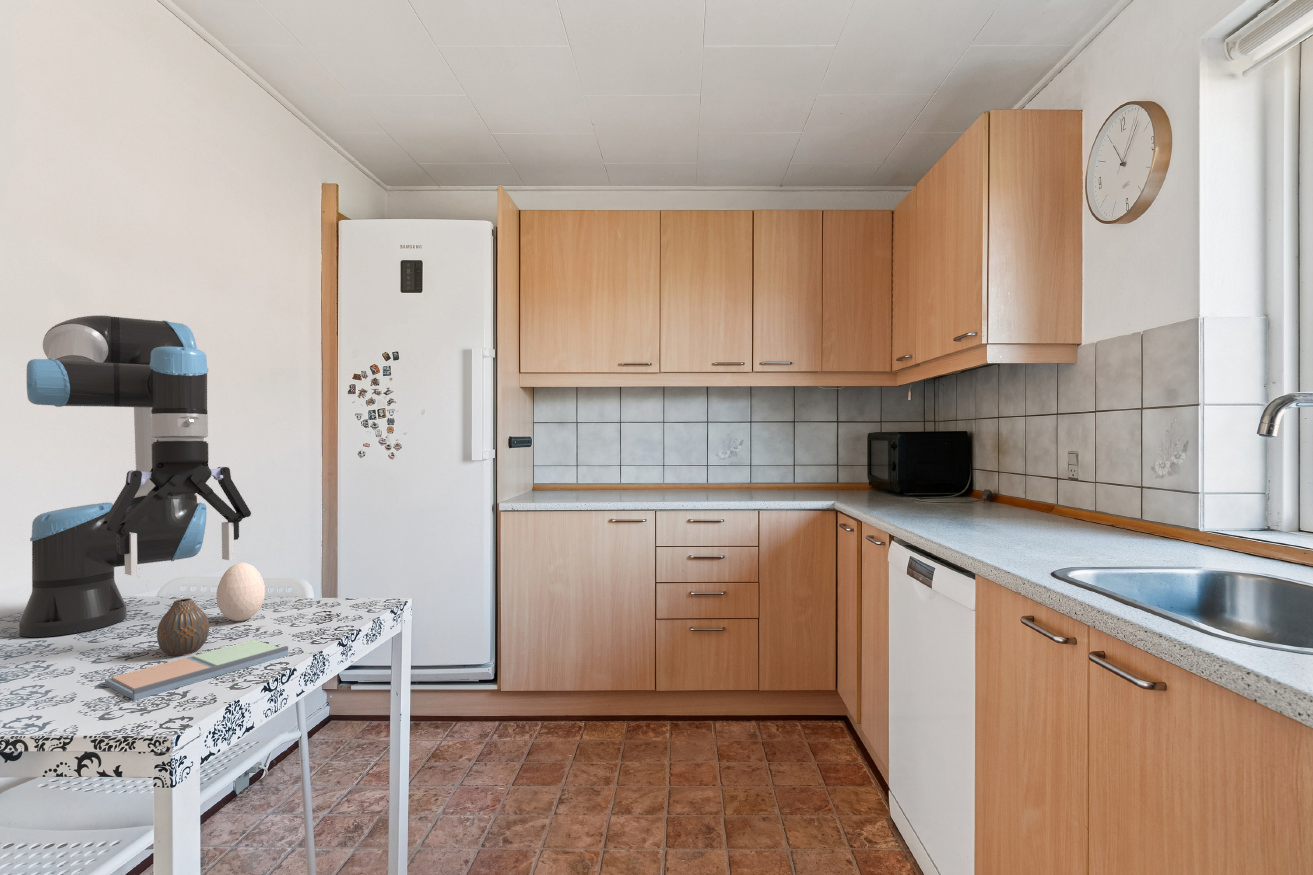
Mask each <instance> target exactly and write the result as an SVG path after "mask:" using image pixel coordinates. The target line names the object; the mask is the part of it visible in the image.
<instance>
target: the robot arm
mask: <svg viewBox="0 0 1313 875" xmlns="http://www.w3.org/2000/svg"><path fill="white" fill-rule="evenodd" d="M42 350H43V353H44V355H45V356H46V358H34V359H30V360H29V361H28V362H27V364H26V394H27V400H28V401H29V402H30V403H31V404H33V405H36V406H38V405H39V406H53V407H56V408H59V407H60V408H62V407H101V408H102V407H108V408H109V407H111V408H112V407H114V408H115V407H117V408H133V417H134V420H133V421H134V422H133V423H134V454H135V470H133V469H132V470H129V471H127V472H126V476H125V479H126V480H125V484H124V486H123V488H122V490H121V491H120V492H119V494H118V496H117V498H116V500H114V503H113V502H101V503H99V502H98V503H91V504H84V505H83V504H82V505H78V506H72V507H66V508H61V509H55V510H51V511H46V512H42V513H40V514H38V515H37V516H35V518H34V519H33V520H32V522H31V523H32V524H31V537H30V539H29V541H30V542H31V588H32V589H31V590H32V591H31V594H30V596H29V599H28V601H27V604H26V606H25V608H24V611H23V613H22V615H21V618H20V620H19V624H18V626H19V627H18V630H19V632H18V634H19V636H20V637H24V638H25V637H26V638H42V637H55V636H63V635H70V634H76V633H82V632H87V631H92V630H97V629H101V628H106V627H109V626H112V625H115V624H118V623H120V622H122V621H124V620H126V618H127V606H126V603H125V602H124V599H123V597H122V595H121V593H120V590H119V588H118V585H117V584H116V582H115V568H117V567H124V574H125V575H127V576H132V577H133V576H138V565H141V564H143V565H144V564H150V563H159V562H168V561H170V562H174V561H177V560H184V559H189V558H194V557H196V556H197V555H198V554H199V553H200V552H201V549H202V547H203V543H204V538H205V532H206V524H207V505H206V503H202V502H198V496H200V497H201V498H202V499H203V500H205V502H207V503H208V504H209V505H210V506H211V507H212V508H213V509H214V510H215V511H216V512H218V513H219V515H221V516H222V517H223V518H224V519H225V520H226V521H223V522H221V560H225V561H234V560H235V543H234V542H235V541H236V540H239V538H240V523H241V522H242V521H243V519H245V518H249V517H251V516H252V512H251V509H250V508H249V507H248V505H247V504H246V501H245V500H244V498H243V497H242V495H241V493H240V491H239V490H238V488H237V486H236V485H235V483H234V481H233V480H232V476H231V469H230V467H228V466H218V467H216V468H210V466H209V459H210V458H209V442H208V441H206V440H205V439H206V438H207V437H209V426H208V424H209V422H208V421H209V416H208V372H209V368H208V362H207V355H206V353H205V352H204V351H202V350H201V349H198V347H197V342H196V338H195V336H194V333H193V331H192V329H191V328H190V327H189V326H188V325H186V324H184V323H180V322H178V323H177V322H171V321H167V320H151V319H142V318H131V317H119V316H111V315H86V316H85V315H84V316H80V317H78V316H77V317H75V318H71V319H67V320H65V321H62V322H60V323H57V324H55V325H53V326H52V327H51V328H49V329H48V330H47V332H46V334H44V337H43V341H42ZM204 438H205V439H204ZM204 440H205V441H204ZM211 477H213V479H214V480H215V481H217V482H218V484H219V486H220V488H221V489H222V492H223V493H224V495H225V496H226V498H227V499H228V501H229V503H230V505H231V506H232V508H233V509H232V508H231V507H230V506H229V505H228V504H227V503H226V502H225V501H224V500H223V499H222V498H221V497H220V496H219V495H218V494H217V493H215V492H214V489H213V488H212V487H210V486H209V485H208V484H207V482H208V481H209V479H210V478H211Z"/></svg>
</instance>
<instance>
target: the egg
mask: <svg viewBox="0 0 1313 875" xmlns="http://www.w3.org/2000/svg"><path fill="white" fill-rule="evenodd" d="M265 597H266V586H265V581H264V578H263V577H262V575H261V572H260V571H258V569H257V568H256V567H255V566H253V565H252V564H250V563H247V562H238V563H235V564H233V565H231V566H230V567H228V569H227V570H226V571H225V572H224V573H223V575H222V576H221V577H220V581H219V583H218V585H217V589H216V597H215V598H216V604H217V606H218V609H219V611H220V612H221V614H222V615H223V616H224V617H225V618H226V619H229V620H230V621H235V622H243V621H246V620H249V619H252V617H254V616H255V615H256V614H257V613H258V611H259V610H261V607H262V606H263V604H264V601H265Z"/></svg>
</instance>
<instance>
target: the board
mask: <svg viewBox="0 0 1313 875" xmlns="http://www.w3.org/2000/svg"><path fill="white" fill-rule="evenodd" d="M287 656H289V646H287V645H285V646H282V647H279V646H276V645H273V644H269V643H267V642H263V641H260V640H258V639H253V640H252V639H251V640H248V641H244V642H242V643H241V642H240V643H237V644H233V645H230V646H226V647H222V648H218V649H213V650H210V651H206V652H203V653H199V654H195V655H191V656H188V657H184V658H180V659H177V660H176V659H175V660H172V661H168V662H164V663H160V664H157V665H152V666H149V667H146V668H141V669H137V670H134V671H129V672H126V673H123V674H119V675H115V676H111V677H107V678H105V679H104V685H105V686H107V687H108V688H111V689H113V690H114V691H116V692H117V693H120V694H122V695H124V696H125V697H128V698H130V699H131V700H133V701H138V700H140V699H144V698H147V697H151V696H154V695H157V694H161V693H164V692H167V691H171V690H174V689H178V688H181V687H184V686H188V685H192V684H195V683H198V682H202V681H206V680H209V679H212V678H216V677H219V676H222V675H225V674H229V673H232V672H235V671H239V670H243V669H247V668H249V667H253V666H255V665H256V666H257V665H259V664H262V663H265V662H269V661H273V660H276V659H280V658H283V657H287Z"/></svg>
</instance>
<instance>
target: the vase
mask: <svg viewBox="0 0 1313 875" xmlns="http://www.w3.org/2000/svg"><path fill="white" fill-rule="evenodd" d="M209 631H210V623H209V619H208V617H207V615H206V613H205V611H203V609H201V608H200V607H199V606H198V605H197V604H196V603H195V602H194V599H192V598H190V597H189V598H185V597H184V598H180V599H176V600H174V601H173V603H172V605H171V607H170V608H169V609H168V610H167V612H166V613H165V614H164V615H163V617H162V618H161V619H160V621H159V624H158V626H157V631H156V639H157V640H156V641H157V645H158V647H159V648H160V650H161V651H162V652H163V653H164V654H166V655H167V656H170V657H178V656H179V657H181V656H182V657H183V656H186V655H190V654H194V653H196V652H198V651H199V650H200V649H201V648H202V647H203V646H204V644H205V643H206V641H207V639H208V638H209V637H208V636H209V633H210V632H209Z"/></svg>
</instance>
